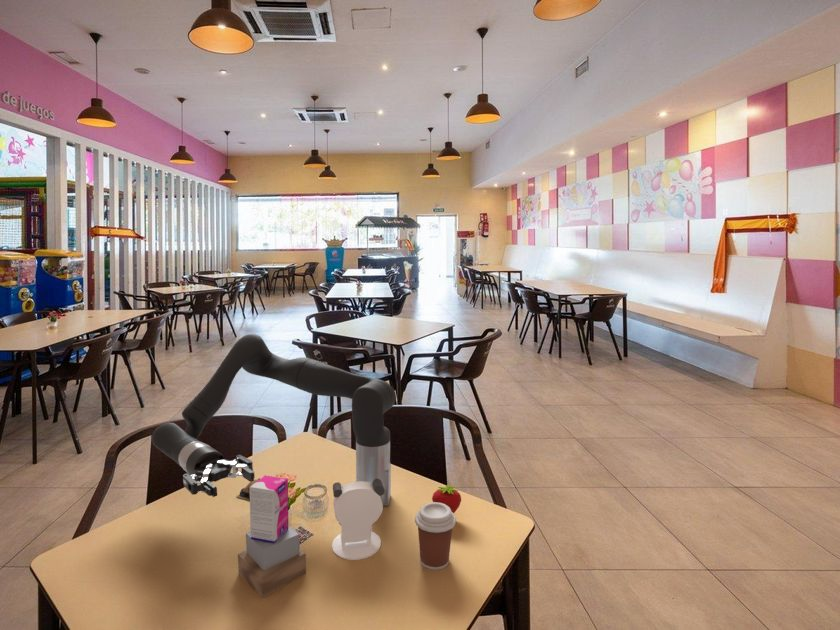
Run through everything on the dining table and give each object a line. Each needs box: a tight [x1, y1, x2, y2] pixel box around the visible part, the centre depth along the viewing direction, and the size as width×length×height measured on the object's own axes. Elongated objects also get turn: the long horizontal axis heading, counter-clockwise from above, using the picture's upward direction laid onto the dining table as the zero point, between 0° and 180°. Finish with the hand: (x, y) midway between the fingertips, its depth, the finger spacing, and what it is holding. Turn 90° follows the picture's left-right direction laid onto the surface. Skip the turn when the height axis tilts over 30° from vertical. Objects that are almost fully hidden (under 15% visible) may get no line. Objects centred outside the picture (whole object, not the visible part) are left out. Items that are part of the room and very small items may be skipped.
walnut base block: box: [237, 548, 307, 599], centre depth 101 cm, size 10×10×5 cm
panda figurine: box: [331, 479, 385, 561], centre depth 111 cm, size 12×11×15 cm
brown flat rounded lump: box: [236, 478, 261, 502], centre depth 136 cm, size 11×8×4 cm
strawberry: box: [431, 481, 462, 514], centre depth 123 cm, size 6×8×10 cm
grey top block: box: [245, 524, 301, 571], centre depth 101 cm, size 8×8×4 cm
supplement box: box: [249, 475, 290, 543], centre depth 99 cm, size 6×6×12 cm
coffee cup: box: [414, 501, 457, 571], centre depth 106 cm, size 9×9×12 cm
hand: (234, 484), depth 105 cm, fingers open, 8 cm apart
